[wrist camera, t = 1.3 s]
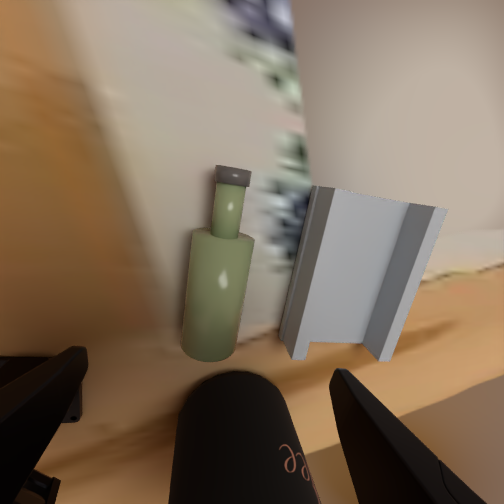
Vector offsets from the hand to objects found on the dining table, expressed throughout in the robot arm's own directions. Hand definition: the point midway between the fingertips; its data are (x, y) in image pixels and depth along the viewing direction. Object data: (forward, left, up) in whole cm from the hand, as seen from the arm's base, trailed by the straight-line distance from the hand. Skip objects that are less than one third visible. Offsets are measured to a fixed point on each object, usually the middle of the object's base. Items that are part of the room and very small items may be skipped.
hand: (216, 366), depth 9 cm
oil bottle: (0, 0, -12) cm, 12 cm away
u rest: (0, -12, -12) cm, 17 cm away
